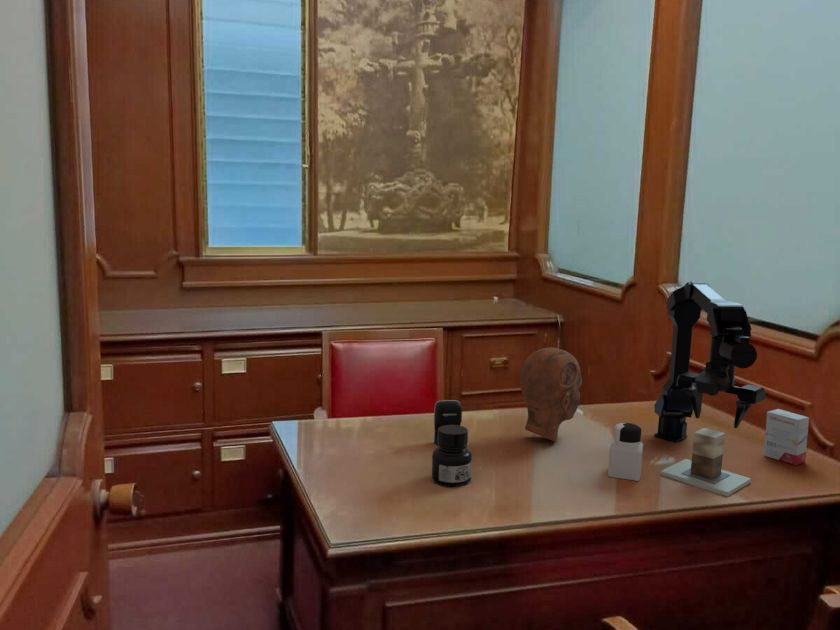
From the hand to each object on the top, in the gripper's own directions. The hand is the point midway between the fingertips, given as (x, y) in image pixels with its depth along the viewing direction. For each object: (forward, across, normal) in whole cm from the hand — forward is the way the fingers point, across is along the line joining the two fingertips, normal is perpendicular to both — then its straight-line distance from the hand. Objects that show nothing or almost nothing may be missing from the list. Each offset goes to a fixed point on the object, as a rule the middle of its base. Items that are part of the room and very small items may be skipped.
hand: (716, 422), depth 173 cm
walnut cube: (+12, 0, -3) cm, 12 cm away
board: (+13, 0, -3) cm, 13 cm away
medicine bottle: (+13, -14, -15) cm, 24 cm away
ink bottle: (+13, -38, -49) cm, 63 cm away
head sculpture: (+13, -40, -9) cm, 43 cm away
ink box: (+13, +7, +25) cm, 29 cm away
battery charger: (+13, -55, -33) cm, 65 cm away
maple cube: (+7, 0, -3) cm, 7 cm away
